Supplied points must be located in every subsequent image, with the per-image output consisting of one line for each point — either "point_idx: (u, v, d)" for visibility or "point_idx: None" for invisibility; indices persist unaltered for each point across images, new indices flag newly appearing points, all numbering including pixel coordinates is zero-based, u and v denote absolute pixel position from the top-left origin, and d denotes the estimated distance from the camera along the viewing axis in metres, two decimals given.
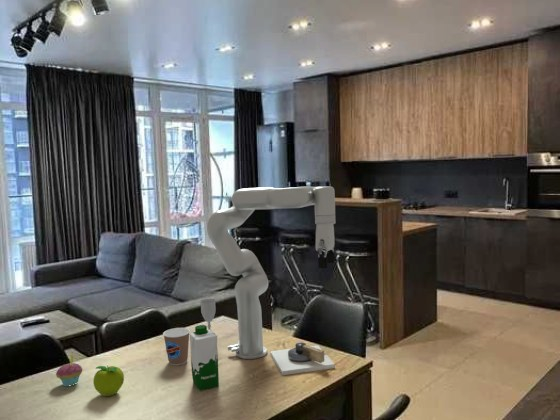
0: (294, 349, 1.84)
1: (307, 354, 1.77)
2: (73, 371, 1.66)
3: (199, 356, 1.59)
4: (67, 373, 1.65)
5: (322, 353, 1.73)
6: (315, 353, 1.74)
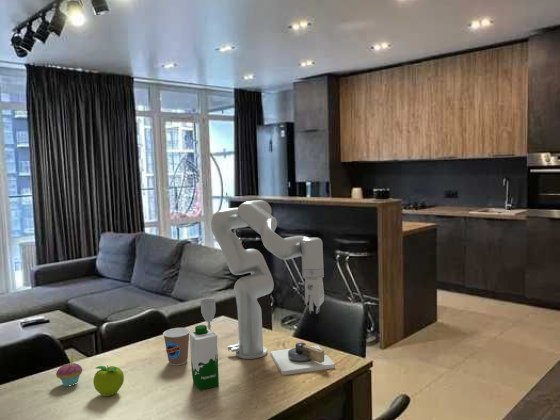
0: (294, 349, 1.84)
1: (307, 354, 1.77)
2: (73, 371, 1.66)
3: (199, 356, 1.59)
4: (67, 373, 1.65)
5: (322, 353, 1.73)
6: (315, 353, 1.74)
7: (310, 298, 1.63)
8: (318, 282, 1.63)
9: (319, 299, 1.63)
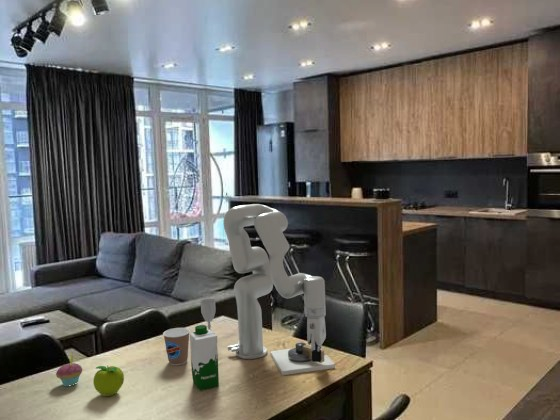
0: (294, 349, 1.84)
1: (307, 354, 1.77)
2: (73, 371, 1.66)
3: (199, 356, 1.59)
4: (67, 373, 1.65)
5: (322, 353, 1.73)
6: None
7: (312, 337, 1.66)
8: (320, 321, 1.66)
9: (321, 338, 1.66)
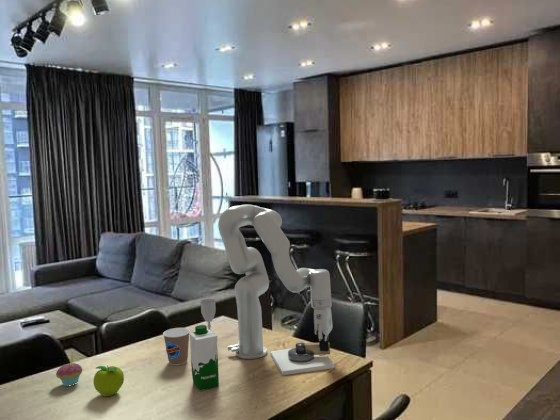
0: (291, 352, 1.81)
1: (312, 351, 1.80)
2: (73, 371, 1.66)
3: (199, 356, 1.59)
4: (67, 373, 1.65)
5: (329, 345, 1.81)
6: None
7: (319, 327, 1.73)
8: (326, 312, 1.73)
9: (327, 328, 1.73)
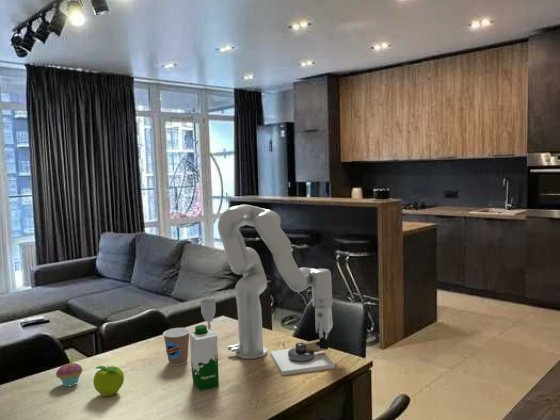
0: (292, 353, 1.79)
1: (312, 349, 1.82)
2: (73, 371, 1.66)
3: (199, 356, 1.59)
4: (67, 373, 1.65)
5: None
6: None
7: (320, 325, 1.77)
8: (327, 310, 1.77)
9: (328, 326, 1.77)
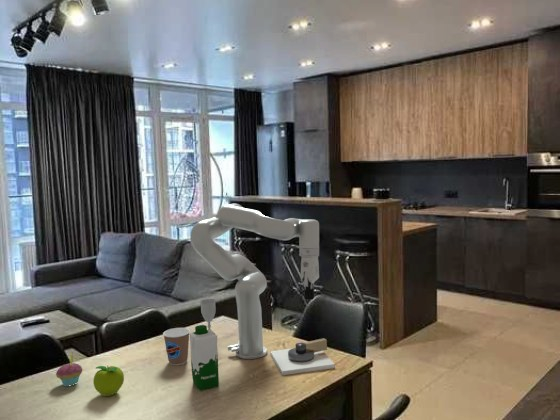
0: (292, 353, 1.79)
1: (312, 349, 1.82)
2: (73, 371, 1.66)
3: (199, 356, 1.59)
4: (67, 373, 1.65)
5: None
6: (321, 343, 1.84)
7: (305, 274, 1.77)
8: (313, 260, 1.77)
9: (313, 276, 1.77)
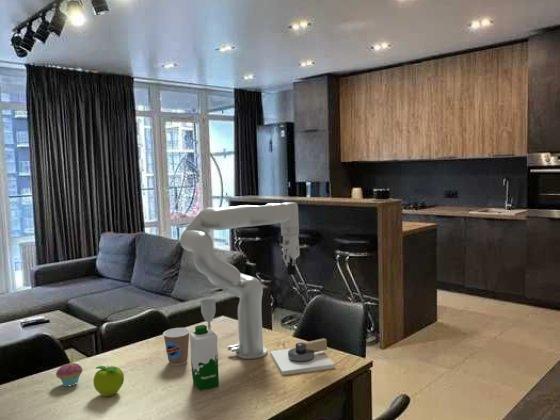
0: (292, 353, 1.79)
1: (312, 349, 1.82)
2: (73, 371, 1.66)
3: (199, 356, 1.59)
4: (67, 373, 1.65)
5: None
6: (321, 343, 1.84)
7: (287, 252, 1.96)
8: (294, 239, 1.96)
9: (294, 253, 1.96)
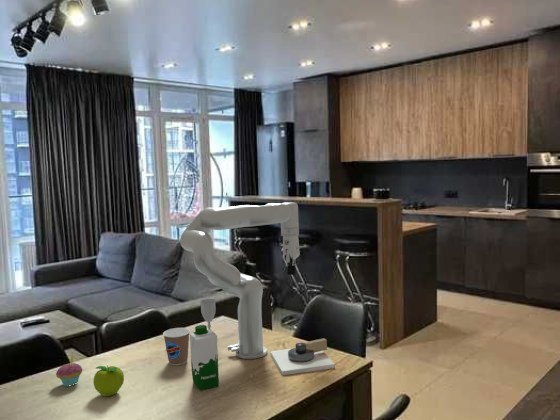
0: (292, 353, 1.79)
1: (312, 349, 1.82)
2: (73, 371, 1.66)
3: (199, 356, 1.59)
4: (67, 373, 1.65)
5: None
6: (321, 343, 1.84)
7: (287, 252, 1.96)
8: (294, 239, 1.96)
9: (294, 253, 1.96)
